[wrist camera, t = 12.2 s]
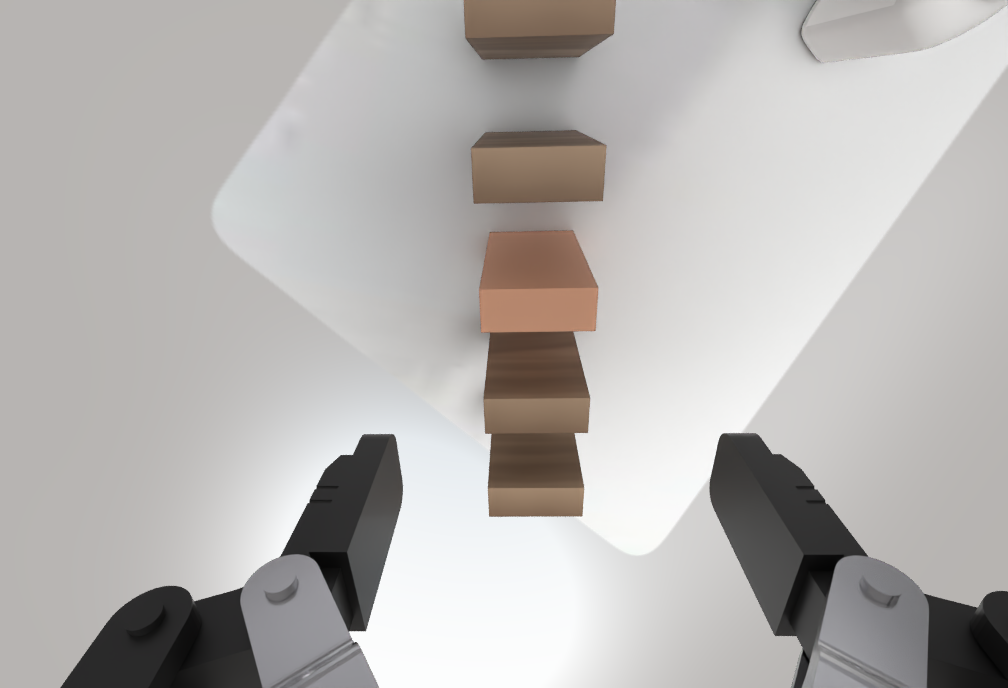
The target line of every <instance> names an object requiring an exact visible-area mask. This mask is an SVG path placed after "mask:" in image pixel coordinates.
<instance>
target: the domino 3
mask: <svg viewBox="0 0 1008 688" xmlns="http://www.w3.org/2000/svg"><path fill="white" fill-rule="evenodd" d="M479 298H480V318H481V333H486V332H560V331H595V330H596V315H597V299H598V286H597V284H596V282H595V279H594V277H593V275H592V272H591V270H590V268H589V266H588V263H587V261H586V259H585V257H584V254H583V252H582V250H581V248H580V245H579V243H578V241H577V239H576V236H575V234H574V232H573V231H524V232H490V234H489V239H488V245H487V250H486V255H485V261H484V266H483V271H482V277H481V282H480V287H479Z"/></svg>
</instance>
